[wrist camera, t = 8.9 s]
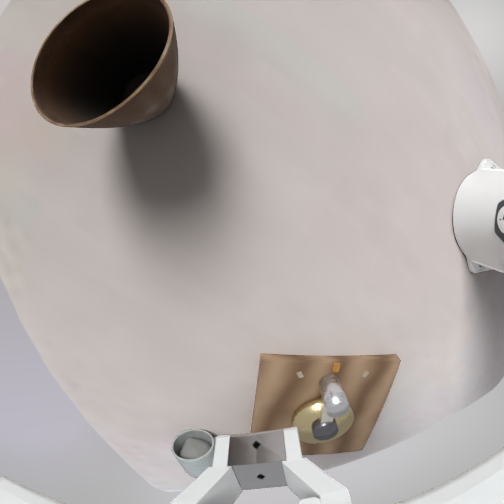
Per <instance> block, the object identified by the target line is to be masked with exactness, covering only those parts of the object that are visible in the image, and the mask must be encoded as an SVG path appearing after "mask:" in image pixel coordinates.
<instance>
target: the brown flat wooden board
mask: <svg viewBox="0 0 504 504" xmlns="http://www.w3.org/2000/svg"><path fill="white" fill-rule="evenodd" d="M400 362H401V360H400V359H399V357H398V356H397V355H396V354H391V355H366V356H305V355H279V354H261V356H260V364H259V372H258V380H257V388H256V396H255V404H254V412H253V419H252V427H251V433H257V432H264V431H271V430H278V429H285V428H291V427H292V423H291V419H292V415H293V413H294V412H295V410H296V409H297V408H298V407H299V406H300V405H302V404H303V403H305V402H306V401H308V400H310V399H313V398H316V397H319V396H322V395H321V392H320V388H319V385H318V383H319V380H320V379H321V378H322V377H323V376H325V375H328V374H334V375H336V376H338V378H339V380H340V383H341V385H342V388H343V390H344V393H345V395H346V397H347V400H348V402H349V404H350V406H351V408H352V411H353V414H354V420H353V423H352V425H351V427H350V428H349V429H348V430H347V431H346V432H345V433H344V434H343V435H341V436H340V437H338V438H336V439H334V440H332V441H329V442H325V443H318V444H312V443H306V442H303V441H301V440H299V441H300V447H301V453H302V455H313V454H329V453H341V452H350V451H359V450H363V448H364V446H365V444H366V442H367V440H368V438H369V436H370V434H371V432H372V430H373V427H374V425H375V423H376V421H377V419H378V417H379V414H380V412H381V410H382V408H383V405H384V403H385V401H386V398H387V396H388V393H389V391H390V388H391V386H392V383H393V381H394V378H395V375H396V373H397V370H398V367H399V364H400Z"/></svg>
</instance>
